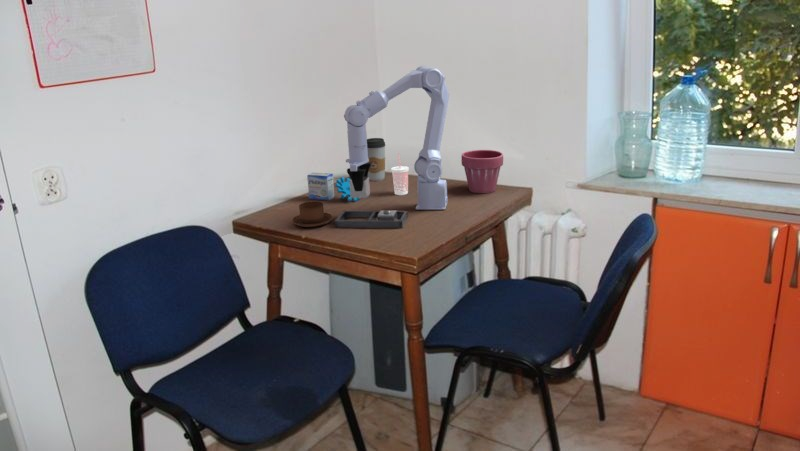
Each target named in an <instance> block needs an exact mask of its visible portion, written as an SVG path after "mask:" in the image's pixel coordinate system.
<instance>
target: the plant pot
mask: <svg viewBox="0 0 800 451" xmlns="http://www.w3.org/2000/svg"><path fill="white" fill-rule="evenodd" d="M503 165H504V153H502V152H501V151H498V150H494V149H474V150H473V149H472V150H467V151H464V152H462V153H461V166H462V167H463V168H464V173H465V177H466V181H467V185H468V190H469V191H470V192H471V193H474V194H489V193H493V192H494V191H496V190H497V184H498V180H499V176H500V170H501V167H502V166H503Z"/></svg>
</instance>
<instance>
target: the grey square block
mask: <svg viewBox="0 0 800 451" xmlns="http://www.w3.org/2000/svg"><path fill="white" fill-rule="evenodd" d="M349 179H350V180H349V183H350V195H351V198H352V199H353V198H360V199H367V198H368V197H369V195H370V194H371V187H370V180H369V176H364V178H363V188H362V191H355V189H354V186H353V183H352V180H351V178H349Z"/></svg>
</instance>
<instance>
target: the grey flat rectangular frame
mask: <svg viewBox="0 0 800 451" xmlns="http://www.w3.org/2000/svg"><path fill="white" fill-rule="evenodd" d="M380 211H381V210H343V211H342V212H341V213H340V214H339V215H338V216H337V218H336V219H335V220H334V227H335V228H336V229H337V228H338V229H339V228H346V229H347V228H349V229H350V228H353V229H354V228H355V229H357V228H358V229H359V228H362V229H364V228H366V229H372V228H373V229H374V228H375V229H377V228H378V229H384V228H385V229H403V227H404V225H405V224H406V221H407V220H408V218H409V214H408V213H409V211H408V210H397V219H399V220H397V221H378V220H376V219H378V214H379V212H380ZM348 218H350V219H351V220H349V219H348ZM353 218H354V219H357V218H359V219H362V218H363V219H365V218H366V219H367V220H352V219H353ZM345 219H346V220H345Z"/></svg>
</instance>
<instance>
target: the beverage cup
mask: <svg viewBox="0 0 800 451" xmlns="http://www.w3.org/2000/svg"><path fill="white" fill-rule="evenodd" d="M390 170H391V172H392V182H393V191H394V195H398V196H405V195H407V194H408V193H409V170H410V167H409V166H406V165H405V166H404V165H401V154H400V153H398V165H397V166H393V167H391V168H390Z"/></svg>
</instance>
